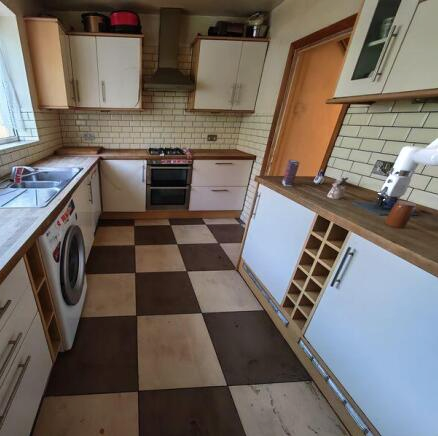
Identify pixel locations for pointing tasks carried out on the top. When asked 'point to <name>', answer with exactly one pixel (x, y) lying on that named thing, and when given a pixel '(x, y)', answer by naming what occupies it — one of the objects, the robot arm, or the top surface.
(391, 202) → the lid
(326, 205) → the top surface
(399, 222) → the jar
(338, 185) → the figurine
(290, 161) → the supplement box
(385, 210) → the mat
